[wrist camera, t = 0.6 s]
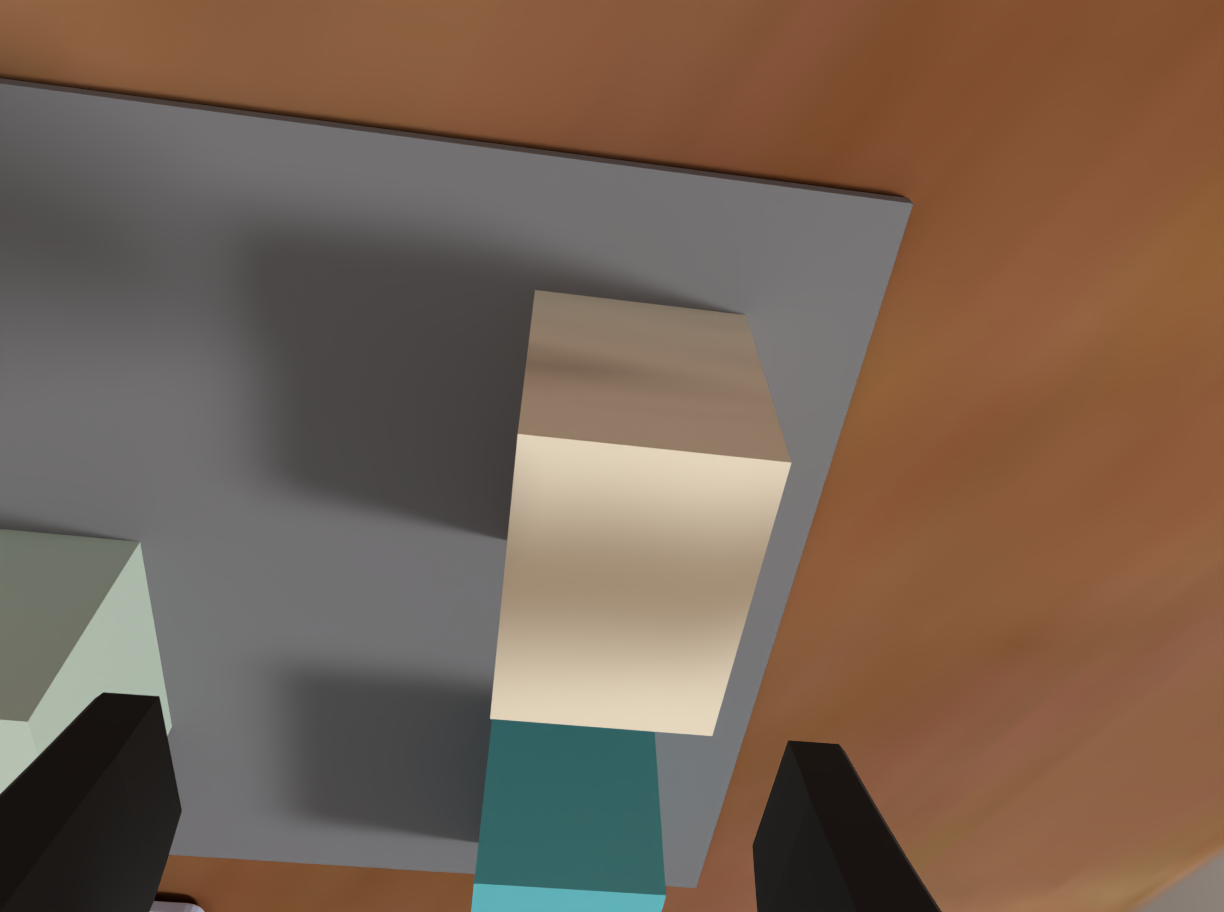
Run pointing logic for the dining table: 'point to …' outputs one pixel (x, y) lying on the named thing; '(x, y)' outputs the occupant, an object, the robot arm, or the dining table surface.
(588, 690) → the maple block
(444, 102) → the dining table surface
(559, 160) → the mat
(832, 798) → the robot arm
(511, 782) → the teal block
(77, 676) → the sage block
